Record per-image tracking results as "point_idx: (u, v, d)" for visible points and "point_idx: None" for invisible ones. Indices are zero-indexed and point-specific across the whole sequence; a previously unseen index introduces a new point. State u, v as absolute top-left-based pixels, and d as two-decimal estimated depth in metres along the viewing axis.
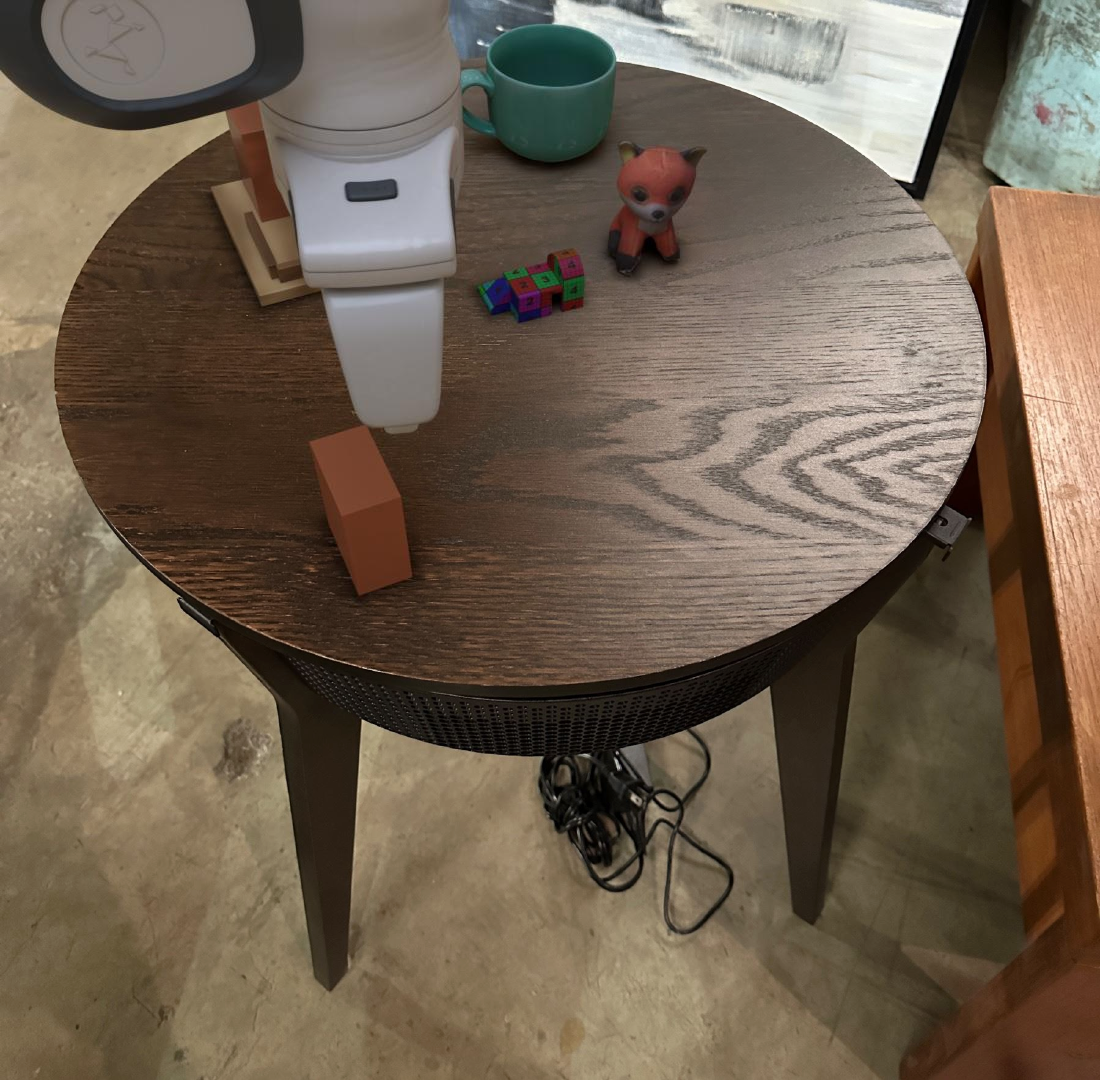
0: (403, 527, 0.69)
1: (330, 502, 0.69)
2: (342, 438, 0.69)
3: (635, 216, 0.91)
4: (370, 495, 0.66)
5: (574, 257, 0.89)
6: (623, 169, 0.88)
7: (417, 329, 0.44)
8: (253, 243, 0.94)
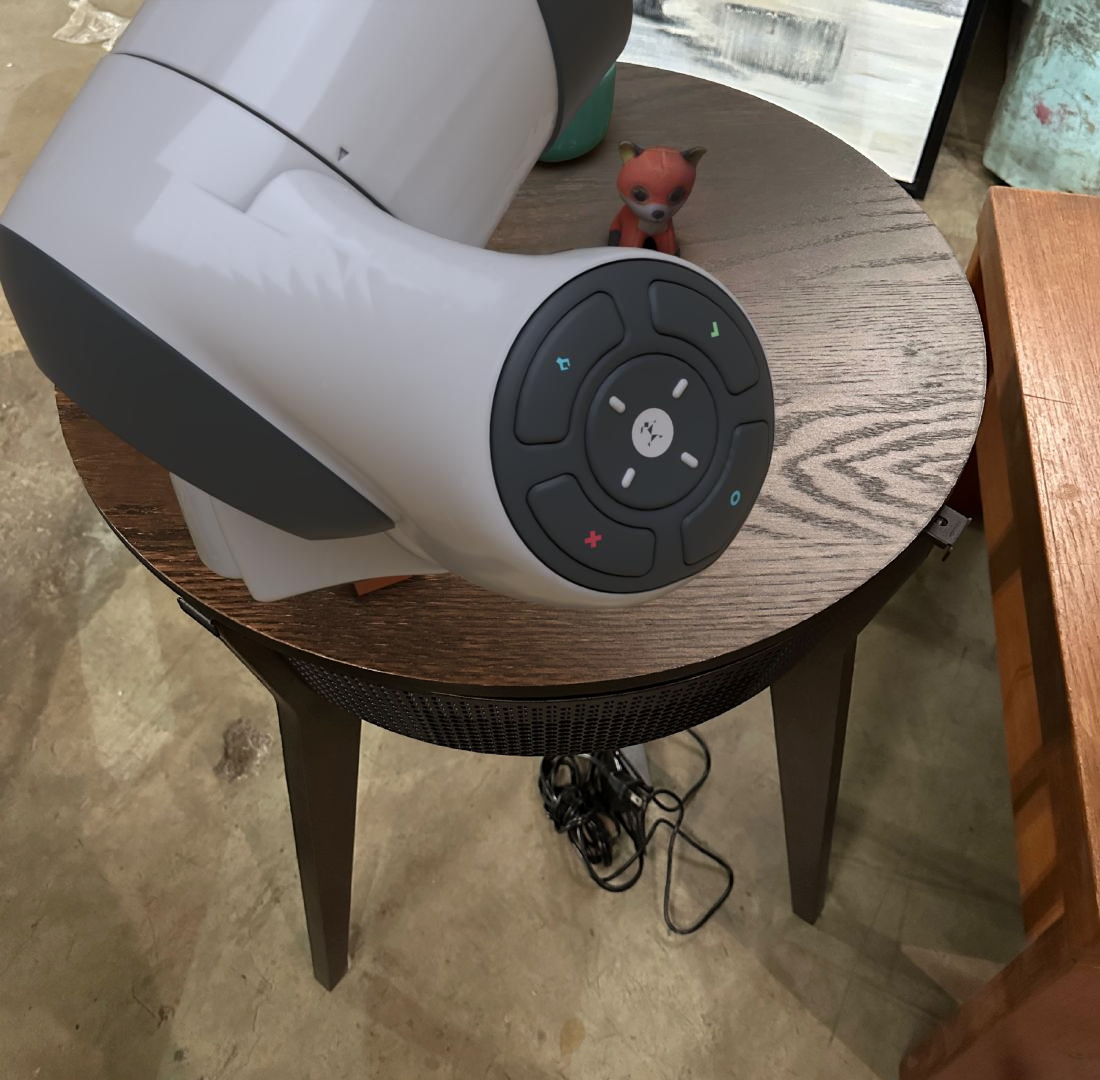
0: None
1: None
2: None
3: (635, 216, 0.91)
4: None
5: None
6: (623, 169, 0.88)
7: (210, 551, 0.37)
8: None
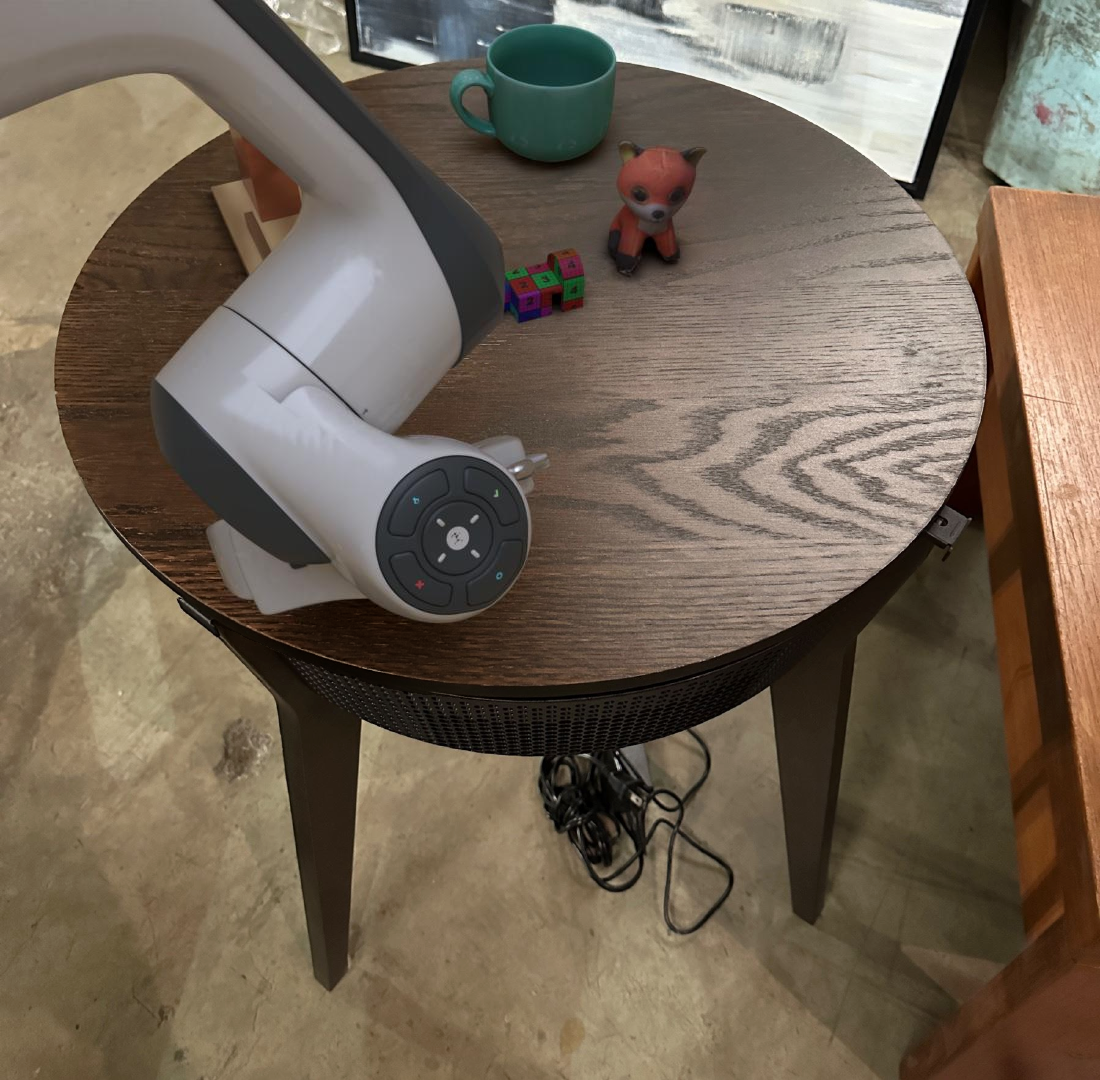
0: None
1: None
2: None
3: (635, 216, 0.91)
4: None
5: (574, 257, 0.89)
6: (623, 169, 0.88)
7: (233, 582, 0.59)
8: (253, 243, 0.94)
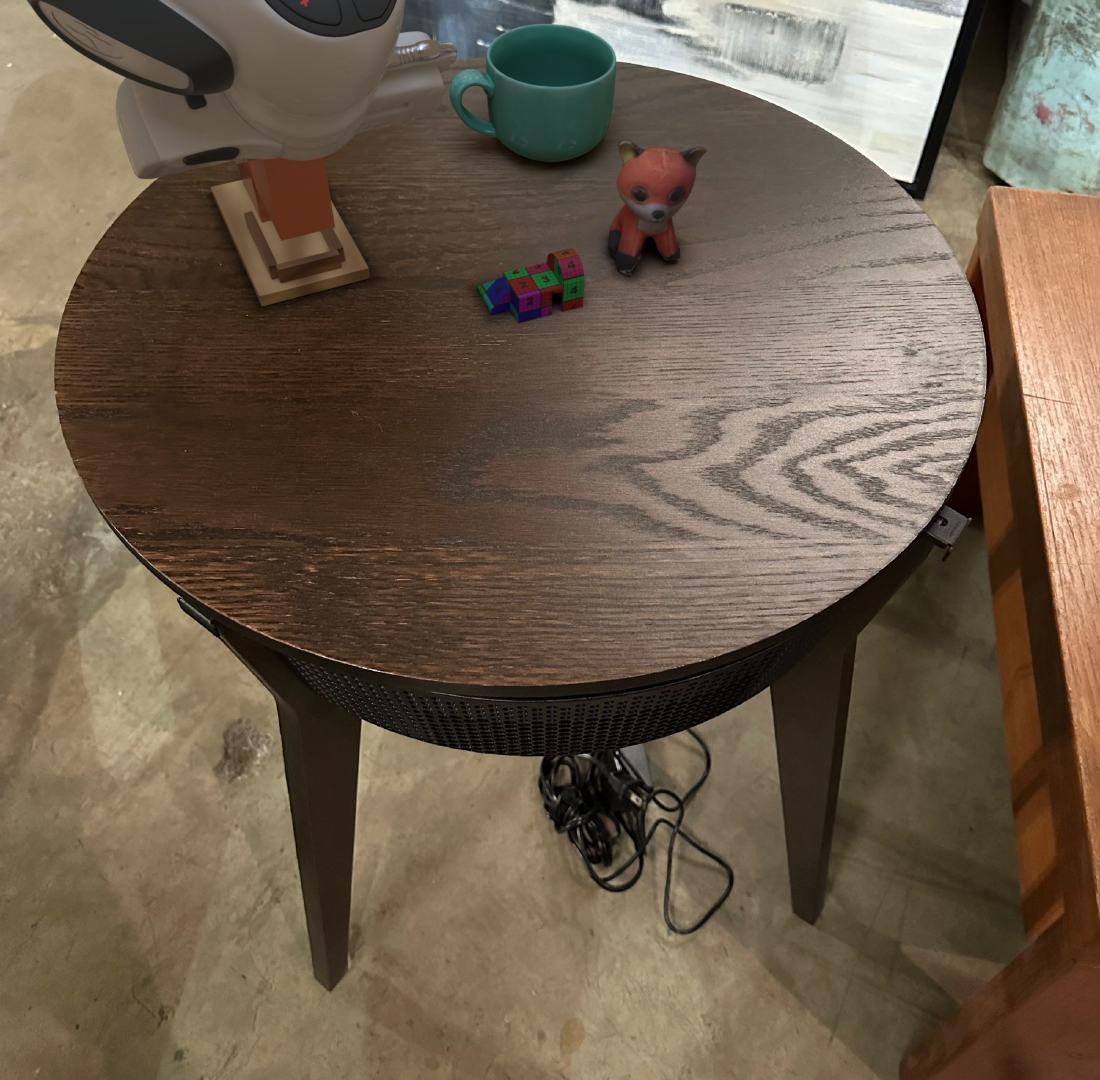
0: None
1: None
2: None
3: (635, 216, 0.91)
4: None
5: (574, 257, 0.89)
6: (623, 169, 0.88)
7: (138, 147, 0.59)
8: (253, 243, 0.94)
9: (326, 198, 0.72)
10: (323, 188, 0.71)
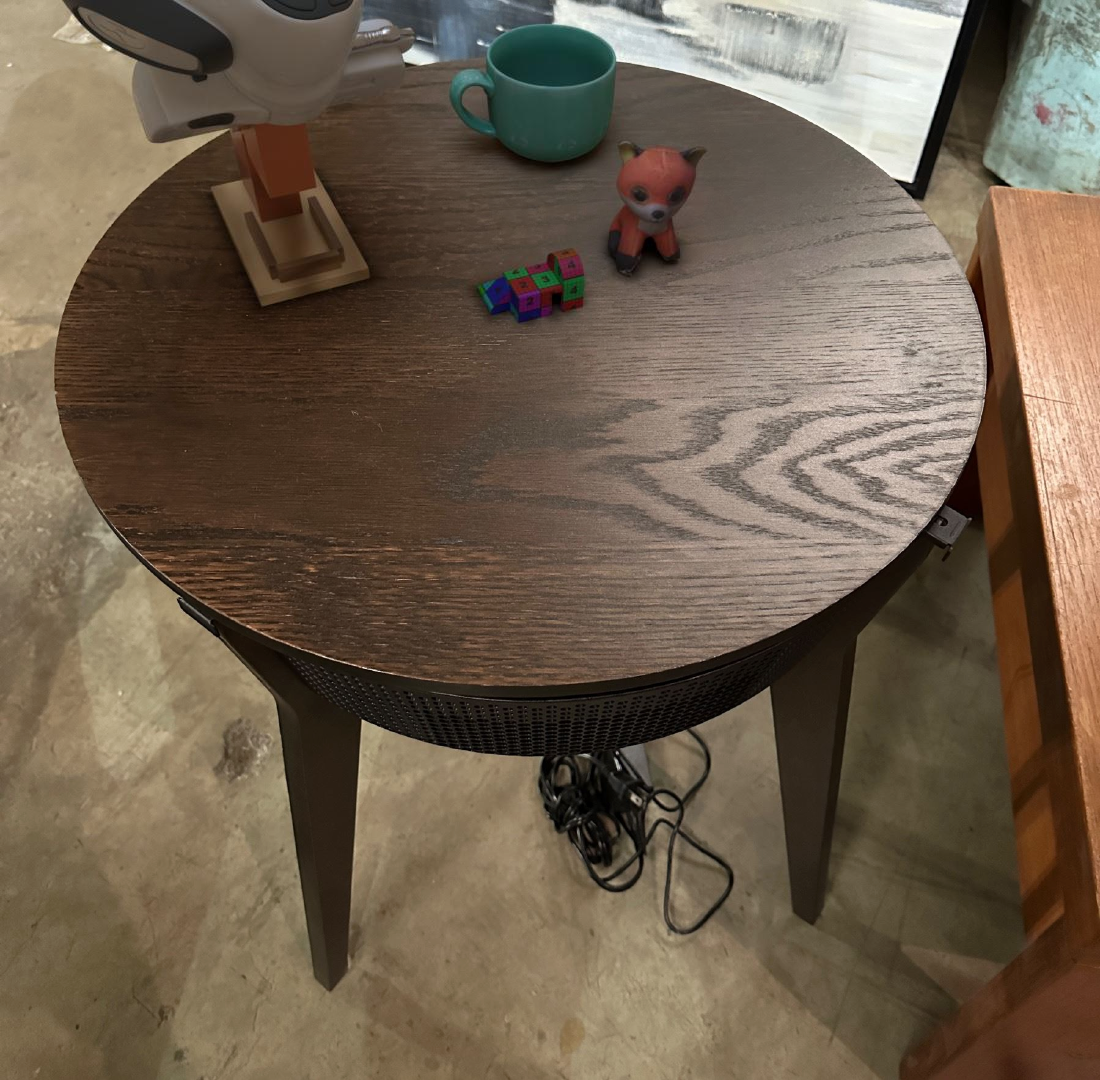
0: (303, 124, 0.82)
1: None
2: None
3: (635, 216, 0.91)
4: None
5: (574, 257, 0.89)
6: (623, 169, 0.88)
7: (151, 115, 0.72)
8: (253, 243, 0.94)
9: (308, 162, 0.85)
10: (305, 153, 0.84)
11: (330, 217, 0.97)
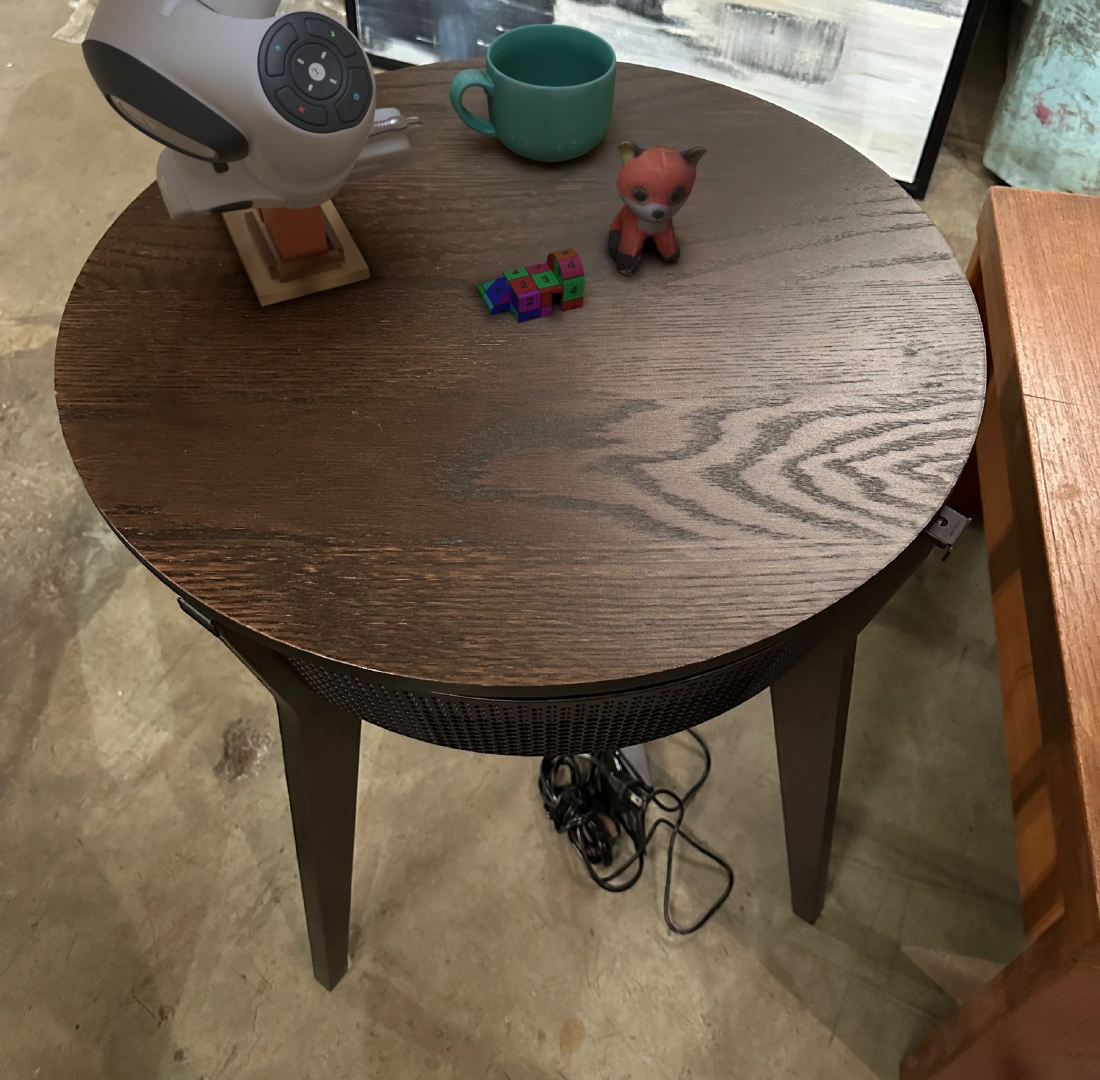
0: None
1: None
2: None
3: (635, 216, 0.91)
4: None
5: (574, 257, 0.89)
6: (623, 169, 0.88)
7: (175, 199, 0.78)
8: (253, 243, 0.94)
9: (322, 237, 0.91)
10: (320, 230, 0.90)
11: (330, 217, 0.97)
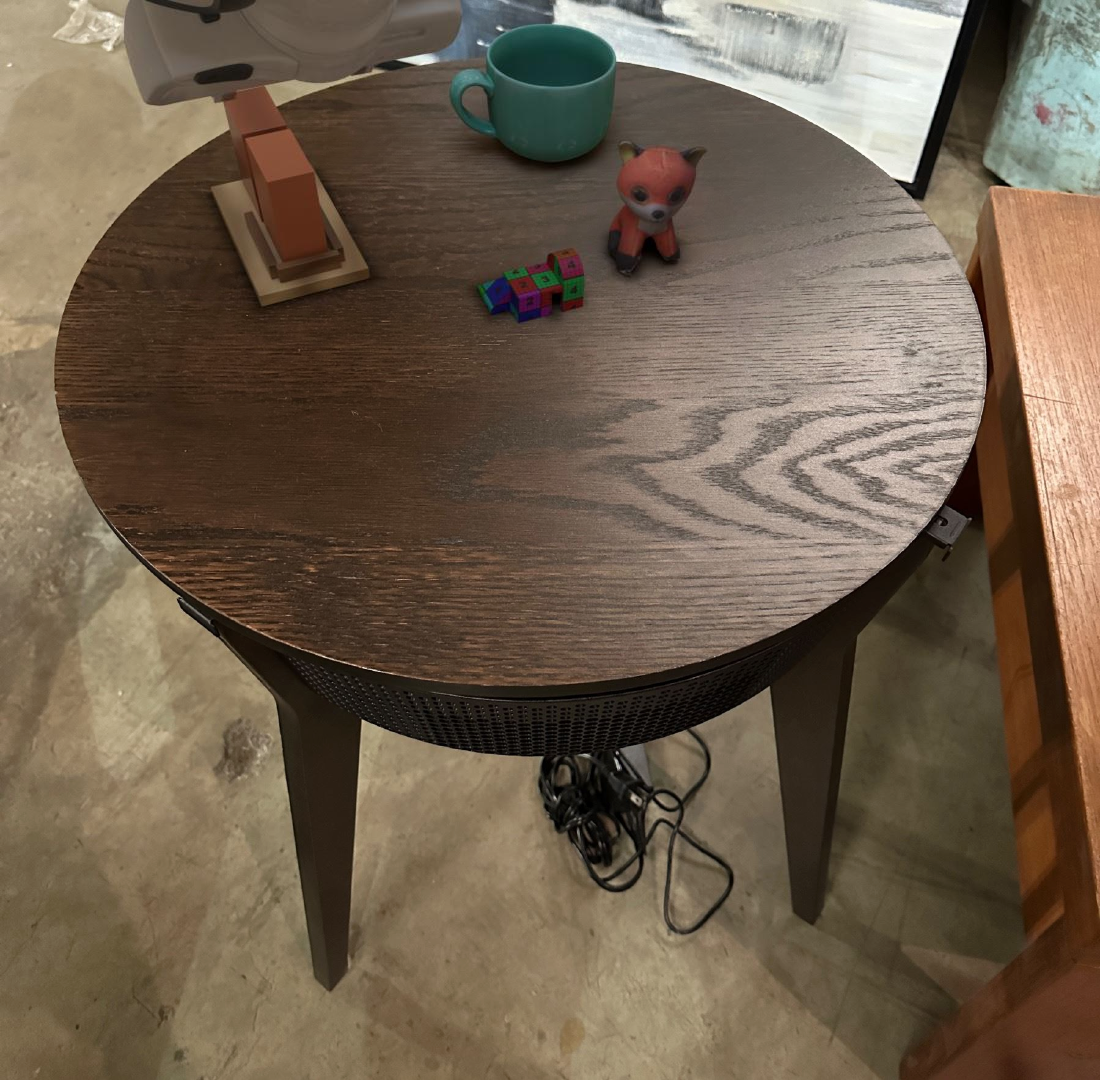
0: (318, 204, 0.88)
1: (261, 186, 0.88)
2: (271, 136, 0.88)
3: (635, 216, 0.91)
4: (290, 170, 0.86)
5: (574, 257, 0.89)
6: (623, 169, 0.88)
7: (148, 67, 0.57)
8: (253, 243, 0.94)
9: (322, 237, 0.91)
10: (320, 230, 0.90)
11: (330, 217, 0.97)
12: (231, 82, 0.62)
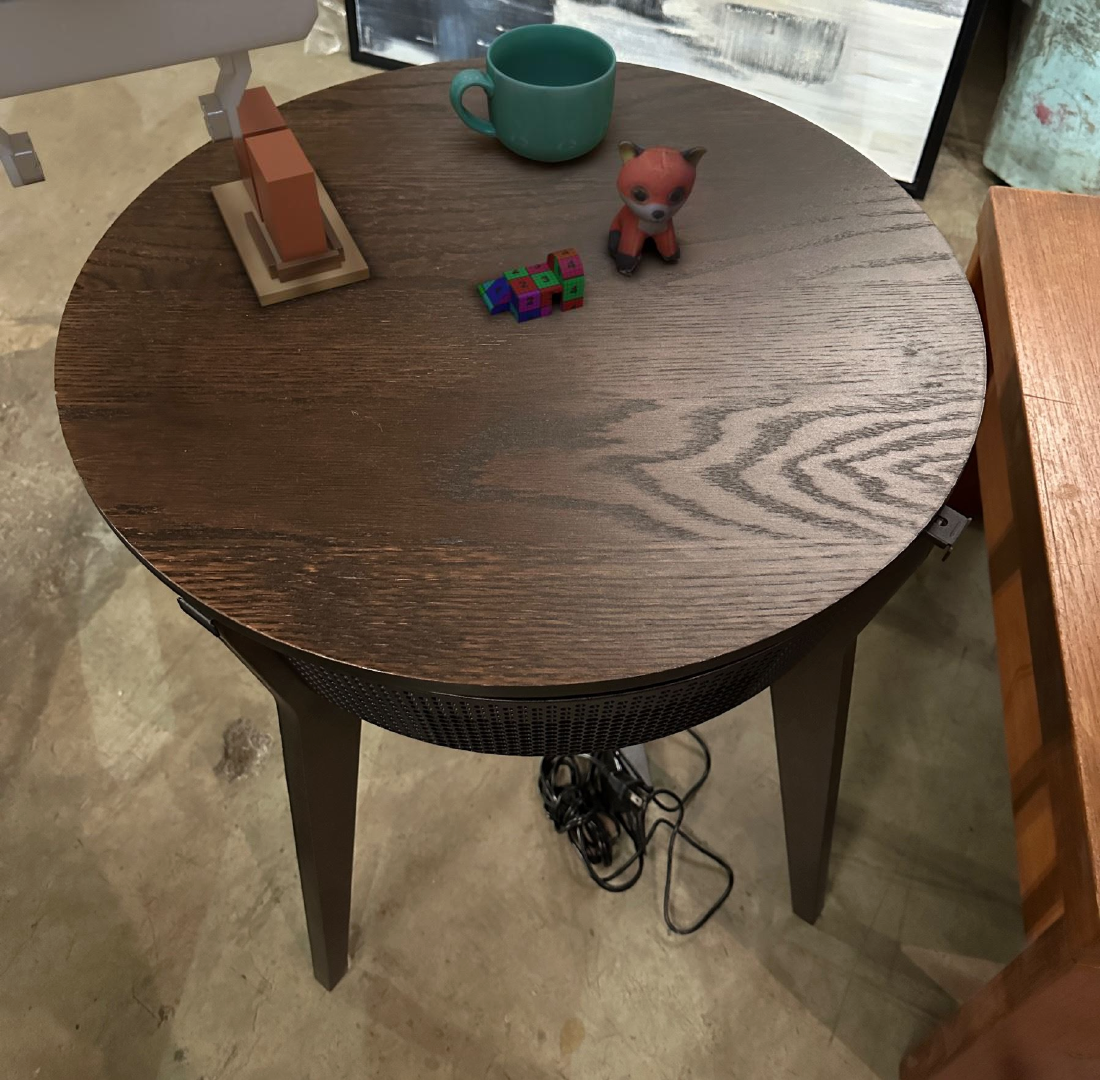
0: (318, 204, 0.88)
1: (261, 186, 0.88)
2: (271, 136, 0.88)
3: (635, 216, 0.91)
4: (290, 170, 0.86)
5: (574, 257, 0.89)
6: (623, 169, 0.88)
7: None
8: (253, 243, 0.94)
9: (322, 237, 0.91)
10: (320, 230, 0.90)
11: (330, 217, 0.97)
12: None
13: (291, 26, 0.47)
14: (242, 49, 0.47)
